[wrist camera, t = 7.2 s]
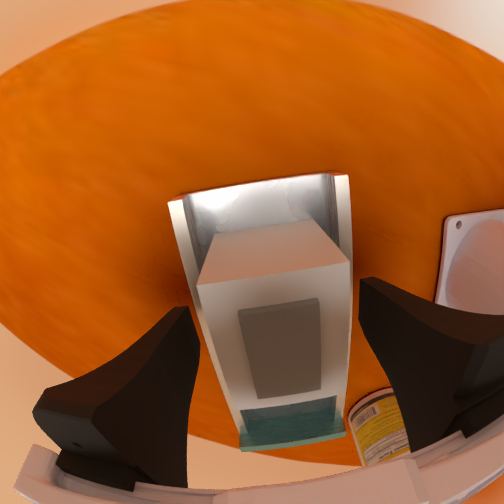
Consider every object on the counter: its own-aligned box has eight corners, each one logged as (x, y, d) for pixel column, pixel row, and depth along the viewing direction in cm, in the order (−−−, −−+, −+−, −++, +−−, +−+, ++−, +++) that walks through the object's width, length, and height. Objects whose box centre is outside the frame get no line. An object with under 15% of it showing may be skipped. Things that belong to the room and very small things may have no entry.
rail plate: (178, 194, 13) (157, 209, 10) (334, 170, 12) (360, 177, 9) (241, 418, 19) (240, 451, 16) (336, 404, 18) (346, 436, 15)
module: (312, 218, 12) (353, 265, 7) (319, 325, 15) (345, 398, 10) (214, 233, 13) (194, 290, 8) (238, 338, 15) (235, 416, 10)
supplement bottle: (397, 414, 20) (430, 494, 11) (343, 429, 20) (367, 519, 11) (411, 378, 18) (459, 469, 9) (350, 395, 18) (386, 503, 9)
